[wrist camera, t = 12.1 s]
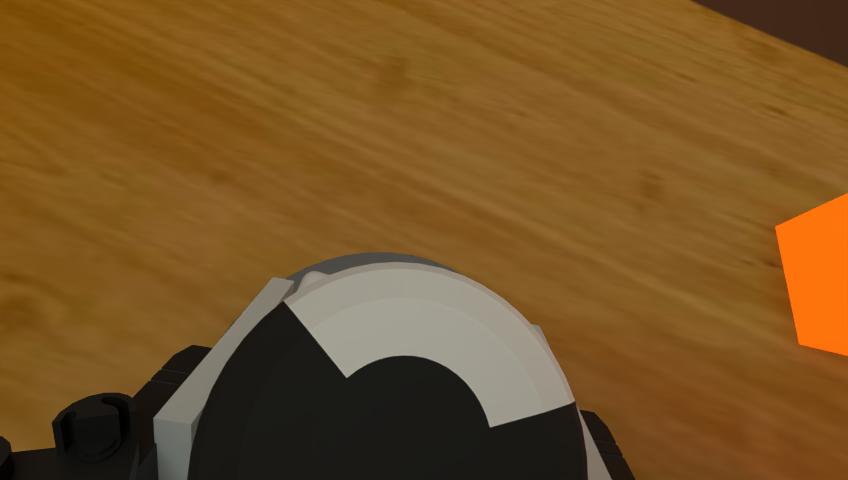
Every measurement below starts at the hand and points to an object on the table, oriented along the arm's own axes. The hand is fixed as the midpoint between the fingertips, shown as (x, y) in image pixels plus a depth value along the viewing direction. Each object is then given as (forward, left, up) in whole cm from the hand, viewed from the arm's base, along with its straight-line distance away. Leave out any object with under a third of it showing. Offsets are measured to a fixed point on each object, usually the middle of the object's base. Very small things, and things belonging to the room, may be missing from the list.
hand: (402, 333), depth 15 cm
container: (+2, +2, -5) cm, 6 cm away
